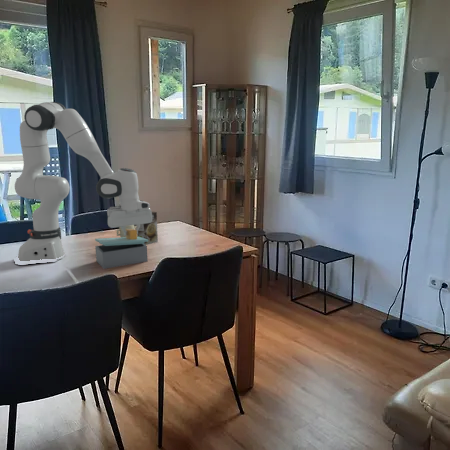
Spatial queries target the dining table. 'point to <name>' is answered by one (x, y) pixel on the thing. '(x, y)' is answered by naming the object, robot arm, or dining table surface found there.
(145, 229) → the coffee box
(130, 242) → the lid
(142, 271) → the dining table surface
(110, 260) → the tub
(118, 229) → the character mug
